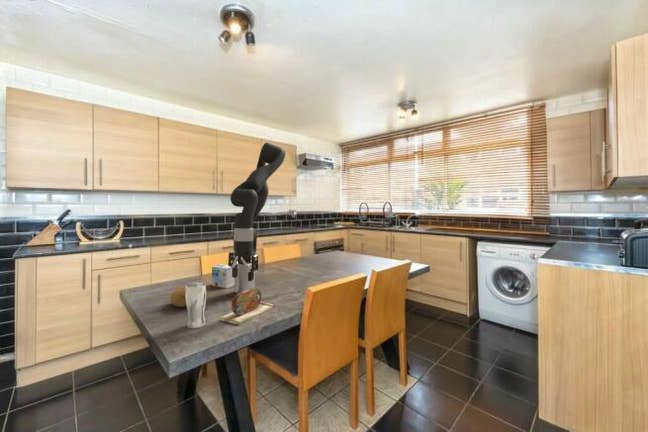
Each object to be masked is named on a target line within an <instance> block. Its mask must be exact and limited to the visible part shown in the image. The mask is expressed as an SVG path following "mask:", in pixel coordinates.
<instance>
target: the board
mask: <svg viewBox="0 0 648 432" xmlns="http://www.w3.org/2000/svg"><path fill="white" fill-rule="evenodd" d="M271 308H273V303H269V302H264V301H260V304H259V306H258V307H257V308H256V309H254V310H252V311H250V312H248V313H246V314H244V315H237V314H235V313H234V312H233V311H231V312H229V313H227V314H225V315H221V316H219V321H222V322H226V323H230V324H234V325H237V326H241V325H243V324H244V323H247V322H248V321H250V320H251V319H253V318H255V317H257V316H259V315H261V314H262V313H265V312H266V311H268V310H269V309H271Z"/></svg>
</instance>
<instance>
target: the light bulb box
mask: <svg viewBox="0 0 648 432" xmlns="http://www.w3.org/2000/svg"><path fill="white" fill-rule="evenodd" d="M211 286H213V287H218V288H224V289H228V288H231V287H233V286H234V278H233V277H232V268H231V267H229V266H228V264H221V263H220V264H216V265H212V266H211Z"/></svg>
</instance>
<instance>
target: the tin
mask: <svg viewBox="0 0 648 432" xmlns="http://www.w3.org/2000/svg"><path fill="white" fill-rule="evenodd" d="M260 302H262V293H261V291H260V289H259V288H256V287H255V289H254V288H251V289H248V290H246V291H243V292H241V293H239V294H235V296H234V297H233V299H232V301H231V312H234V313H235V314H237V315H244V314H246V313H248V312H250V311H252V310H254V309H256V308H257V307H258V306H259V304H260Z"/></svg>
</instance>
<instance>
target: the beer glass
mask: <svg viewBox="0 0 648 432" xmlns="http://www.w3.org/2000/svg"><path fill="white" fill-rule="evenodd" d="M206 284H207V283H206V282H203V281H195V282H189V283H187V284H186V285H185V286H186V295H185V298H186V306H185V307H186V311H187V314H188V315H187V316H188V318H187V324H186V326H187V328H188V329H199V328H202V327H203V326H205V325H206V324H207V323H206V318H205V310H206V305H207V295H208V294H207V285H206Z"/></svg>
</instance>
